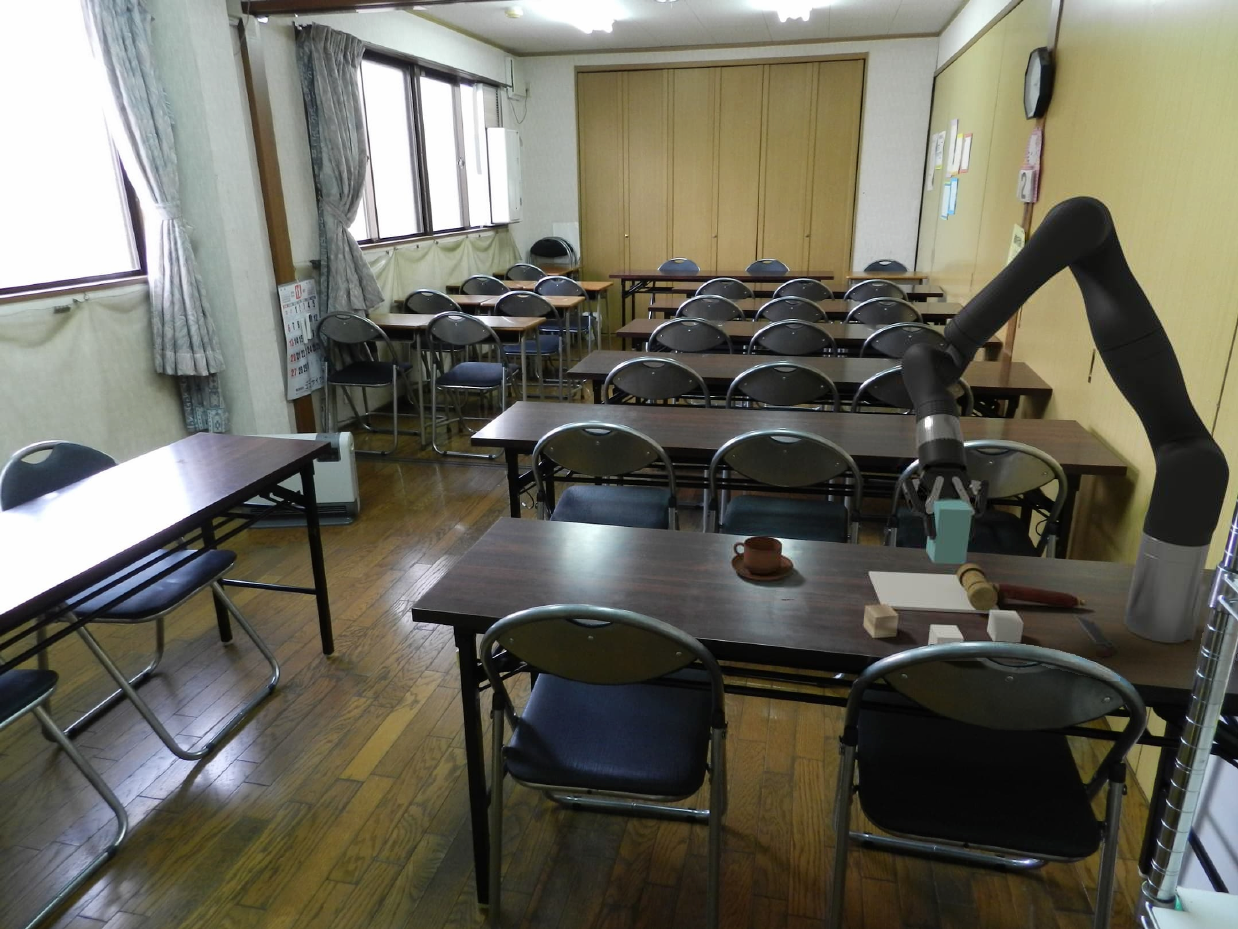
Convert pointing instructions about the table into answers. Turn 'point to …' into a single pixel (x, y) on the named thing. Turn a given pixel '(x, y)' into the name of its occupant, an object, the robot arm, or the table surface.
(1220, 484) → the robot arm
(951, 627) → the white cube back
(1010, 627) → the grey cube left
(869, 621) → the birch cube right
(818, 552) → the table surface
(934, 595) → the white mat
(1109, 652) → the knife
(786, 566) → the cup and saucer
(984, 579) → the gavel
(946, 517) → the teal block
